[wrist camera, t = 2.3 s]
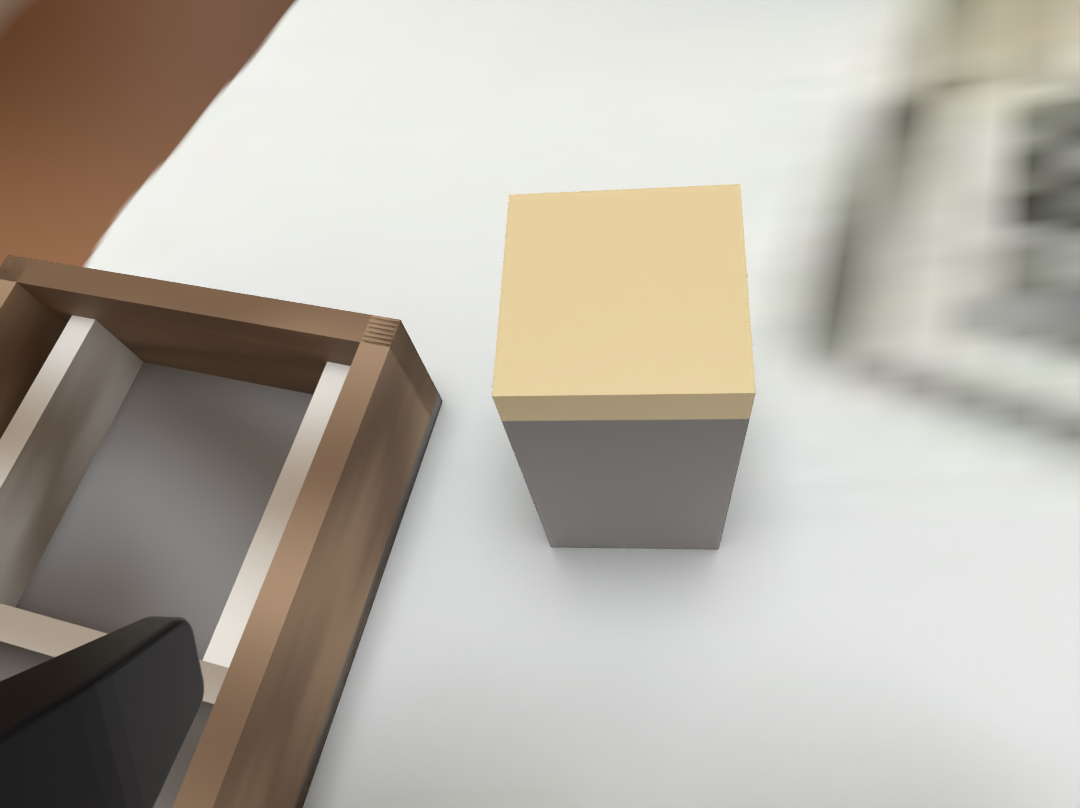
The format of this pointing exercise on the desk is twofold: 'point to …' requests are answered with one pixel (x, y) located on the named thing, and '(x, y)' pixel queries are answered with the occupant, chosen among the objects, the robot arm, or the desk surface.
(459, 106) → the desk surface
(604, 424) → the tan lidded carton
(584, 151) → the desk surface
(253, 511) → the walled box
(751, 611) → the desk surface
